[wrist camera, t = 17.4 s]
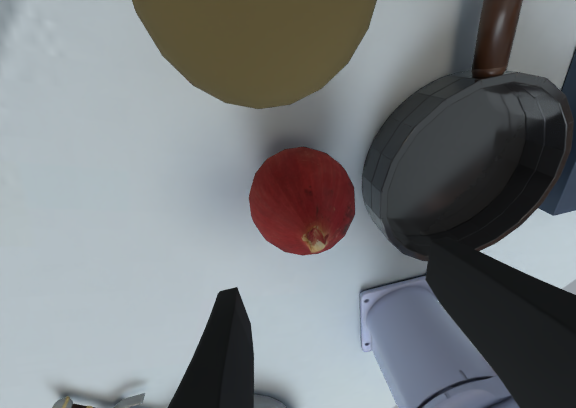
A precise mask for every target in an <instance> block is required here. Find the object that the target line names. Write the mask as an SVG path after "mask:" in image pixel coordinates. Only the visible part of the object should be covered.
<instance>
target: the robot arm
mask: <svg viewBox="0 0 576 408" xmlns="http://www.w3.org/2000/svg"><path fill="white" fill-rule="evenodd" d="M437 300H438V301H439V302H440V303H439V302H438V301H437ZM441 305H442V306H441ZM445 310H446V311H445ZM449 315H450V316H449ZM360 316H361V347H362V350H363V351H364V352H368V351H373V353H374V356H375V358H376V360H377V362H378V364H379V367H380V369H381V371H382V373H383V375H384V378H385V380H386V382H387V384H388V386H389V389H390V391H391V393H392V395H393V397H394V400H395V402H396V404H397V406H398V407H399V408H576V295H574V294H572V293H569V292H567V291H565V290H562V289H560V288H558V287H555V286H553V285H550V284H548V283H546V282H543V281H541V280H539V279H537V278H534V277H532V276H530V275H528V274H525V273H523V272H521V271H519V270H517V269H515V268H512V267H510V266H508V265H506V264H504V263H502V262H500V261H498V260H496V259H493V258H491V257H489V256H487V255H485V254H483V253H481V252H479V251H477V250H475V249H473V248H471V247H469V246H467V245H465V244H462V243H460V242H458V241H456V240H454V239H451V238H449V237H443V238H438V239H434V240H431V245H430V252H429V258H428V265H427V272H426V276H422V277H418V278H414V279H410V280H406V281H402V282H398V283H394V284H390V285H386V286H382V287H378V288H374V289H370V290H366V291H363V292H362V293H361V294H360ZM453 320H454V321H453ZM470 341H471V342H470ZM474 346H475V347H474ZM478 351H479V352H480V353H479V352H478ZM483 357H484V358H483ZM487 362H488V363H487ZM168 408H254V352H253V341H252V332H251V323H250V321H249V318H248V315H247V313H246V310H245V307H244V304H243V302H242V299H241V296H240V294H239V291H238V288H237V287H236V288H232V289H228V290H223V291H220V292H219V293H218V295H217V298H216V301H215V304H214V306H213V309H212V312H211V315H210V317H209V320H208V322H207V325H206V327H205V330H204V332H203V335H202V337H201V339H200V342H199V344H198V346H197V349H196V351H195V353H194V355H193V358H192V360H191V362H190V364H189V366H188V368H187V370H186V372H185V374H184V376H183V379H182V381H181V383H180V385H179V387H178V389H177V391H176V393H175V395H174V397H173V398H172V400H171V402H170V404H169V406H168Z"/></svg>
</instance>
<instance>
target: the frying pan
mask: <svg viewBox="0 0 576 408" xmlns="http://www.w3.org/2000/svg"><path fill="white" fill-rule="evenodd" d="M144 396H145V393H143V394H140V395H136V396H133V397H130V398H126V399H123V400H121V401H120V402H119V403H118V404H117V405H116V406H115V407H114V408H128V407H131V406H135V405H138V404H141V403H143V400H144ZM52 408H94V407H92V406H83V405H77V404H73V401H72V400H71V399H70V398H69V396H67V397H66V398H62V399H60V400H58V401H57V402H56V403H55V404H54V405H53V407H52ZM254 408H286V407H285V406H284V404H283V403H282V402H280V401H278V400H275V399H273V398H271V397H268V396H262V395H255V394H254Z"/></svg>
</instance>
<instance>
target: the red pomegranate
mask: <svg viewBox="0 0 576 408" xmlns="http://www.w3.org/2000/svg"><path fill="white" fill-rule="evenodd" d="M249 202H250V210H251V216H252V219H253V222H254V224H255V225H256V227H257V228H258V229H259V231H260V232H261V234H262V235H263V237H264V238H265V239H266V241H268V242H270V243H271V244H273V245H274V246H276V247H278V248H279V249H281V250H283V251H284V252H288V253H293V254H298V255H309V254H318V253H321V252H323V251H326V250H328V249H331V248H332V247H333V246H334V245H335V244H336V243H337V242H339V241H340V240H341V239H342V238H343V237H344V236H345V234H346V232H347V230H348V228H349V226H350V224H351V222H352V220H353V218H354V215H355V198H354V186H353V184H352V182H351V181H350V179H349V177H348V175H347V173H346V171H345V169H344V168H343V167H342V165H341V164H339V163H338V162H337V161H336V160H334V159H333V158H332V157H330V156H329V155H328V154H327V153H324V152H321V151H317V150H314V149H310V148H307V147H298V148H291V149H284V150H283V151H281V152H279V153H277V154H275V155H273V156H271V157H269V158H268V159H267V160H266V161H265V162H264V163H263V165H262V166H261V167H260V168H259V170H258V171H257V172H256V173H255V176H254V179H253V183H252V186H251V190H250V195H249Z"/></svg>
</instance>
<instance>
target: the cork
mask: <svg viewBox="0 0 576 408" xmlns="http://www.w3.org/2000/svg"><path fill="white" fill-rule="evenodd" d="M376 1H377V0H132V2H133V5H134V8H135V11H136V13H137V15H138V16H139V18H140V20H141V21H142V23H143V25H144V26H145V28H146V30H147V31H148V33H149V35H150V36H151V38H152V39H153V41H154V43H155V44H156V46H157V48H158V49H159V51H160V53H161V54H162V56H163V57H164V58H165V59H166V60H167V61H168V62H169V63H170V64H171V65H173V66H174V67H175V68H176V69H177V70H178V71H179V72H180V73H181V74H182V75H183V76H184V77H185V78H186V79H187V80H188V81H189V82H190V83H191V84H192V85H193V86H195V87H197V88H199V89H201V90H203V91H204V92H206V93H208V94H210V95H212V96H214V97H216V98H217V99H219V100H221V101H223V102H225V103H229V104H234V105H240V106H245V107H250V108H255V109H262V108H270V107H277V106H284V105H290V104H292V103H294V102H296V101H298V100H300V99H302V98H304V97H306V96H308V95H310V94H312V93H314V92H316V91H318V90H320V89H322V88H323V87H324V86H325V85H326V84H327V83H328V82H329V81H330V80H331V79H332V78H333V77H334V76H335V75H336V74H337V73H338V72H339V71H340V70H341V69H342V68H344V67H345V66H346V65H347V64H348V62H349V61H350V59H351V57H352V56H353V54H354V52H355V50H356V49H357V47H358V45H359V44H360V42H361V40H362V39H363V37H364V35H365V33H366V32H367V30H368V28H369V25H370V21H371V18H372V15H373V11H374V8H375V5H376Z"/></svg>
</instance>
